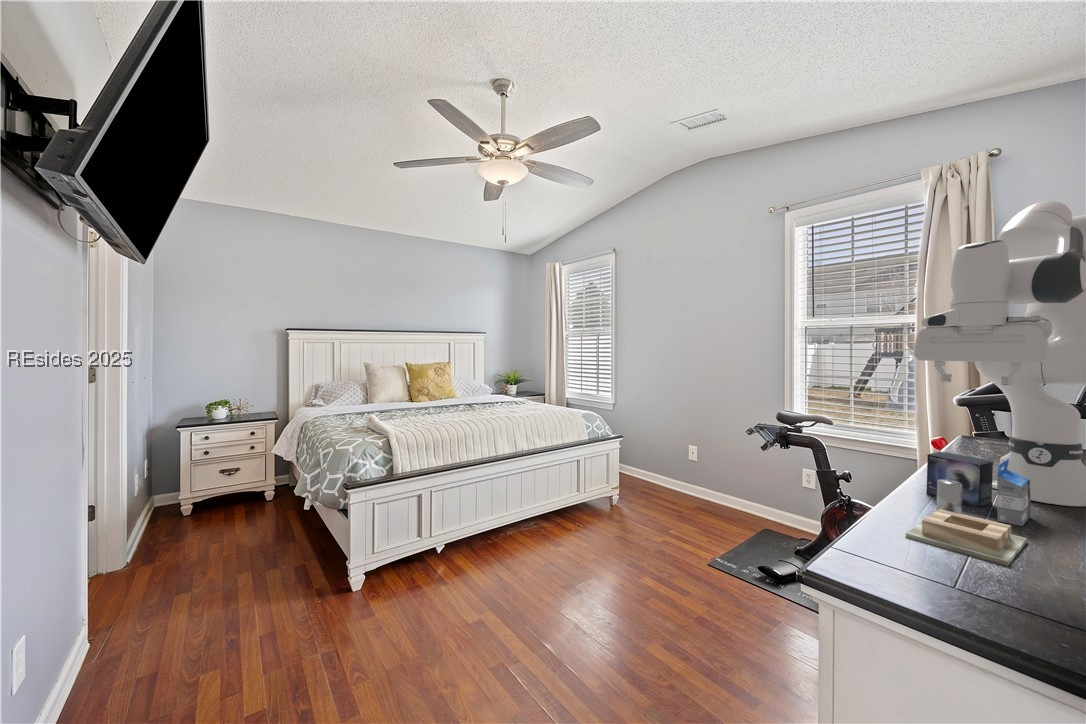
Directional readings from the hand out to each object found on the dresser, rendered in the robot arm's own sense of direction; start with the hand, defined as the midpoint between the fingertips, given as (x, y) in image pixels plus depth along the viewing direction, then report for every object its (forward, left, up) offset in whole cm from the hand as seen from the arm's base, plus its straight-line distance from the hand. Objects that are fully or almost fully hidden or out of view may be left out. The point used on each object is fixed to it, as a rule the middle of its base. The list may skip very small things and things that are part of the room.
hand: (975, 383), depth 93 cm
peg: (+2, -3, -30) cm, 30 cm away
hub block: (+13, +2, -30) cm, 32 cm away
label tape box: (-9, +5, -30) cm, 32 cm away
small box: (-16, -6, -30) cm, 34 cm away
